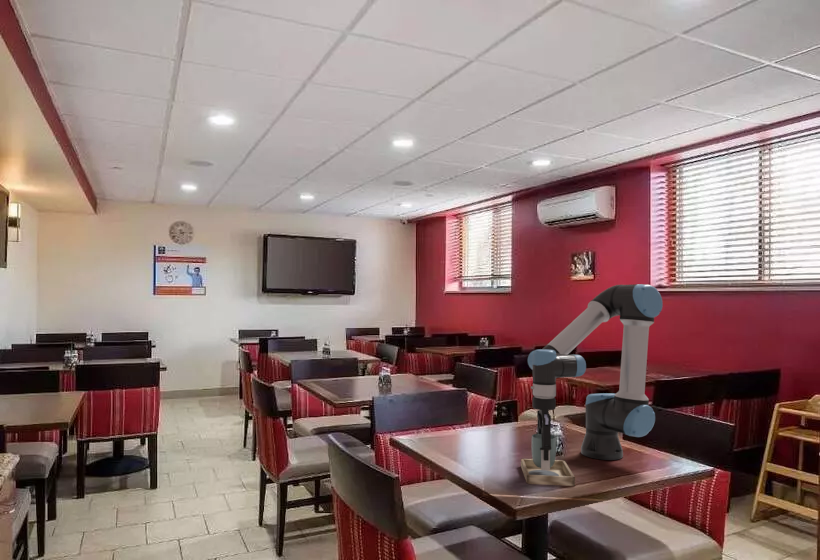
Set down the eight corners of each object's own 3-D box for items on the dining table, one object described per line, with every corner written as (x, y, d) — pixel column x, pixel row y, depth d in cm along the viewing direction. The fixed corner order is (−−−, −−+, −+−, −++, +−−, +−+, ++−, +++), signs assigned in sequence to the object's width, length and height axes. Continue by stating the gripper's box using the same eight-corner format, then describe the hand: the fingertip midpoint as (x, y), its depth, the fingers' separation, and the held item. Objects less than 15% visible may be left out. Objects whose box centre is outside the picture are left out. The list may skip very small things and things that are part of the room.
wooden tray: (564, 469, 198) (564, 460, 198) (574, 487, 179) (575, 477, 179) (520, 467, 199) (520, 458, 199) (526, 485, 181) (526, 475, 181)
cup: (552, 463, 193) (552, 433, 194) (558, 470, 186) (558, 439, 186) (529, 463, 193) (529, 433, 194) (534, 470, 185) (534, 439, 186)
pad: (556, 471, 194) (556, 470, 194) (561, 480, 184) (561, 479, 184) (526, 470, 195) (526, 469, 195) (529, 479, 185) (529, 478, 185)
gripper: (529, 391, 201) (528, 457, 200) (536, 401, 180) (536, 475, 180) (550, 391, 200) (550, 457, 199) (560, 402, 180) (560, 476, 179)
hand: (543, 466), depth 189 cm, fingers closed on cup, 8 cm apart
